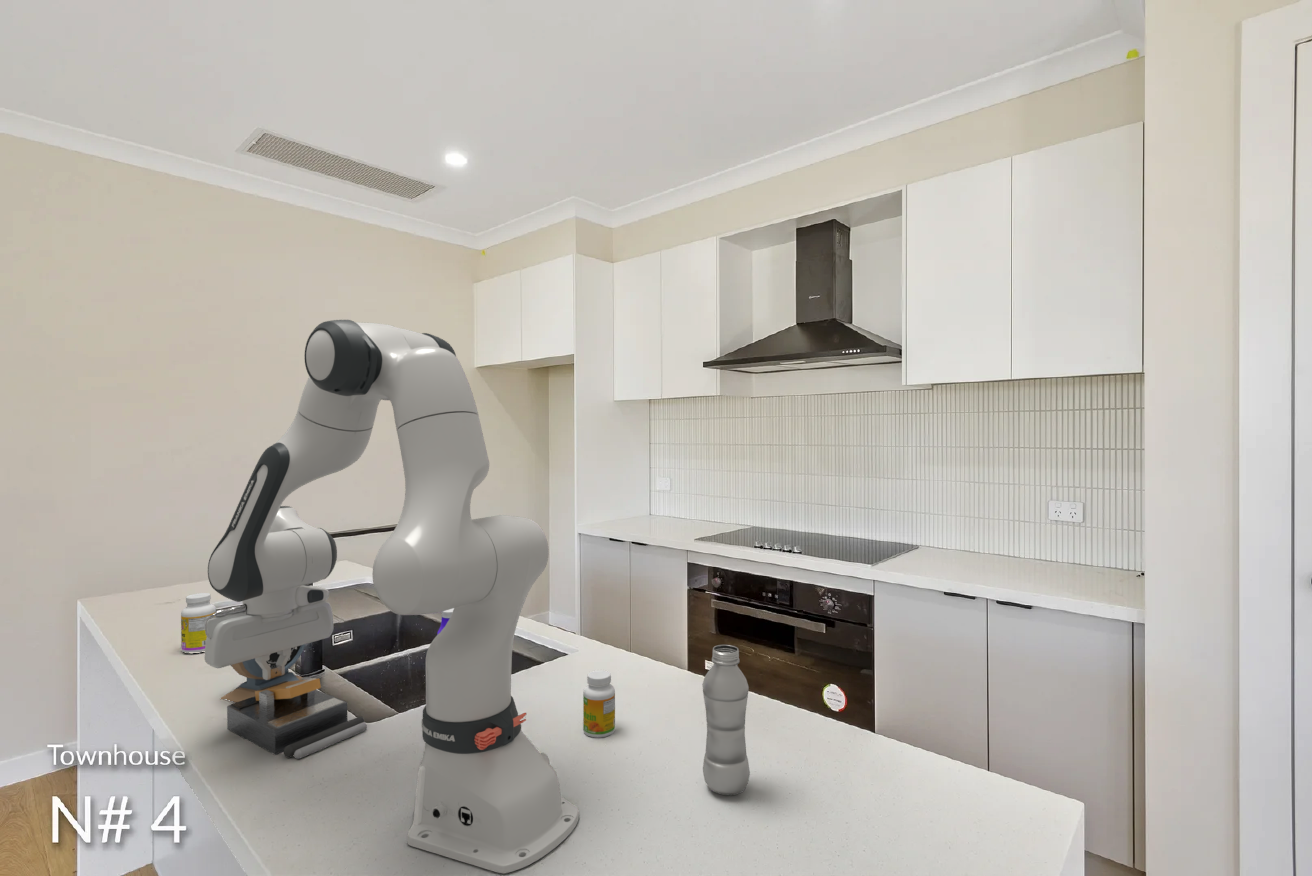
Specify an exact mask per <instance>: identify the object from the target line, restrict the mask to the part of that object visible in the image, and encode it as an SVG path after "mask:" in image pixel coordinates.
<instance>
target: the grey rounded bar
mask: <svg viewBox="0 0 1312 876" xmlns="http://www.w3.org/2000/svg"><path fill="white" fill-rule="evenodd" d="M367 729H368V726H367V723H366V722H365V719H364V717H363V716H361V715H360V716H357V717H354V718H352V719H350V720H348V721H347V722H345V723H342V724H340V725H337V726H335V727H332V728H330V729H327V730H325V731H322V732H320V733H317V734H315V735H312V736H310V737H308V738H305V739H303V740H300V741H298V742H295V743H293V744H290V745H288V746H287V747H286V748H285V749H284V752H283V755H284V757H286V758H292V757H294V758H295V759H297V760H299V759H302V758H304V757H307V756H309V755H312V754H314V753H316V752H318V751H321V750H323V749H326V748H328V747H331V746H332V745H335V744H337V743H340V742H341V741H344V740H347V739H349V738H352V737H353V736H355V735H358V734H360V733H362V732H365V731H367Z"/></svg>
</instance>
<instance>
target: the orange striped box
mask: <svg viewBox="0 0 1312 876" xmlns="http://www.w3.org/2000/svg"><path fill="white" fill-rule="evenodd" d="M310 678H311V677H310ZM321 688H322V685H321V679H320V678H316V677H312V678H311V679H308V680H298V681H283V682H280V683H277V684H274V685H271V686H267V687H264V688H261V689H258V691H255V698H256V701H259V692H261V691H264V690H269V691H271V692H273V693H274V699H288V698H293V697H296V696H299V695H302V694H305V693H308V692H311V691H313V690H318V689H321Z"/></svg>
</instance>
